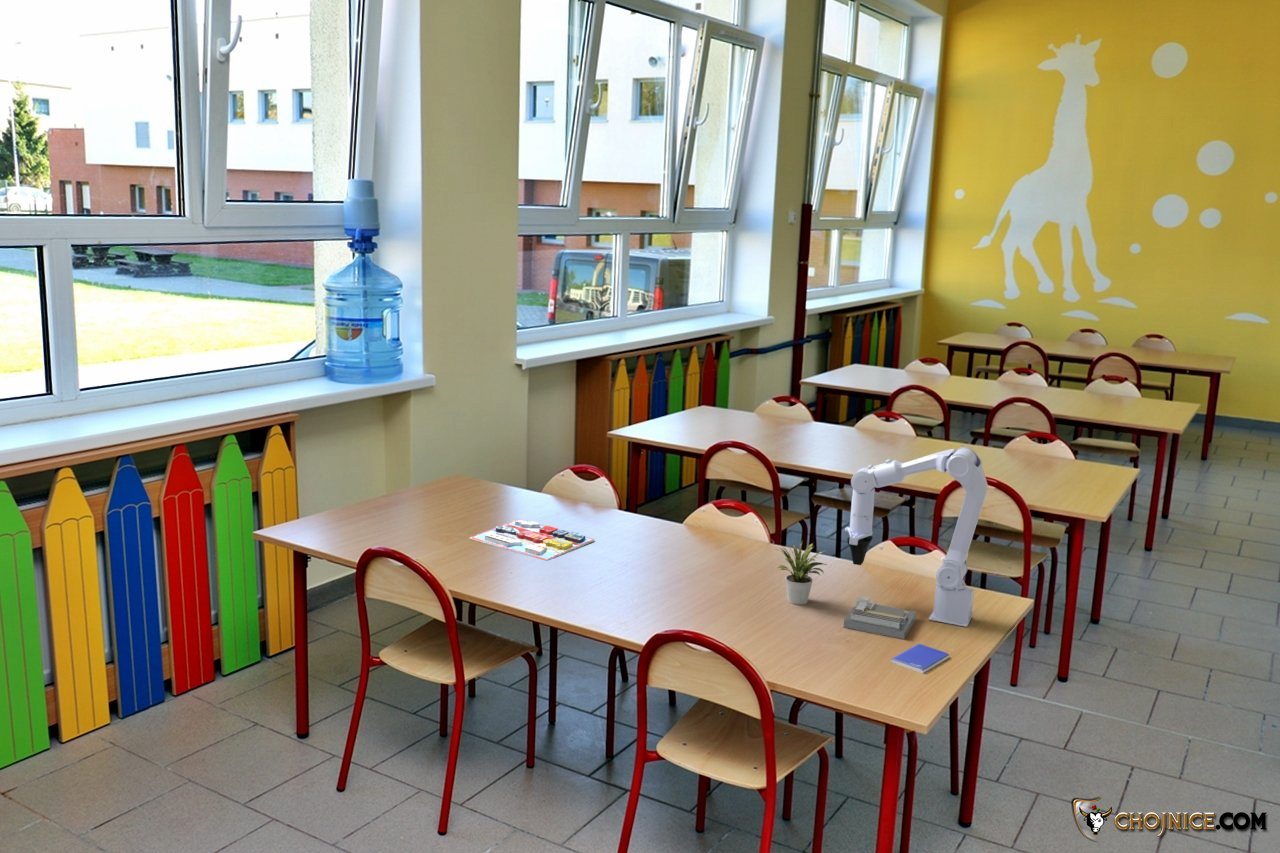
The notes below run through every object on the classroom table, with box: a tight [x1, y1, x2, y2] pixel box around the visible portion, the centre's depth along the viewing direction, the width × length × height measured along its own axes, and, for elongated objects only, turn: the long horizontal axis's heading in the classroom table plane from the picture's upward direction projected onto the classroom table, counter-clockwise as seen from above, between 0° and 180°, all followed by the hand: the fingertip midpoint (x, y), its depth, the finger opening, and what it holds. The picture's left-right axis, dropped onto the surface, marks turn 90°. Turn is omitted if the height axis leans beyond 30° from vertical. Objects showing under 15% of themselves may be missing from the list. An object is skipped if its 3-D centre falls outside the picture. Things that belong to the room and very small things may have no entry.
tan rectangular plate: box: [864, 610, 900, 618], centre depth 274 cm, size 11×3×1 cm, turn 65°
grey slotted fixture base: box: [843, 600, 918, 640], centre depth 275 cm, size 15×15×4 cm
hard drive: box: [890, 643, 950, 674], centre depth 255 cm, size 2×8×12 cm
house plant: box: [775, 541, 828, 606], centre depth 286 cm, size 14×14×16 cm
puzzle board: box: [468, 518, 596, 562], centre depth 331 cm, size 30×23×3 cm
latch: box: [855, 595, 871, 611], centre depth 277 cm, size 3×5×3 cm, turn 155°
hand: (858, 563), depth 288 cm, fingers closed
